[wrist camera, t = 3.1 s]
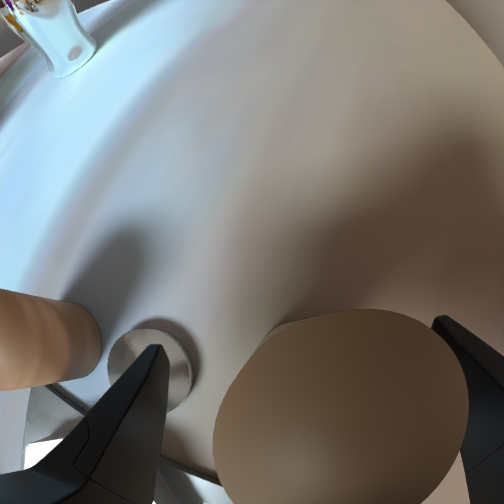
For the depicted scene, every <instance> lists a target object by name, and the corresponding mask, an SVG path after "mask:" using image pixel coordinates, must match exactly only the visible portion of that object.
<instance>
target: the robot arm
mask: <svg viewBox="0 0 504 504" xmlns="http://www.w3.org/2000/svg"><path fill="white" fill-rule="evenodd" d="M431 329H432V330H433V331H435V332H436V333H437V334H438V335H439V336H440V337H441V338H443V339H444V341H445V342H446V343H447V344H448V346H449V347H450V348H451V349H452V351H453V352H454V354H455V356H456V357H457V359H458V361H459V363H460V365H461V368H462V370H463V373H464V375H465V380H466V384H467V388H468V398H469V412H468V421H467V427H466V432H465V436H464V439H463V442H462V445H461V448H460V453H461V458H462V462H463V466H464V471H465V473H466V474H465V477H466V482H467V487H468V493H469V499H470V504H504V356H502V355H501V354H500V353H498V352H497V351H496V350H494V349H493V348H492V347H490V346H489V345H488V344H486V343H485V342H484V341H482V340H481V339H480V338H478V337H477V336H475V335H474V334H473V333H471V332H470V331H469V330H467V329H466V328H464V327H463V326H462V325H460V324H459V323H457V322H456V321H454V320H453V319H452V318H450V317H449V316H447V315H441V316H437V317H436V318H435V319H434V321H433V324H432V326H431ZM169 374H170V361H169V358H168V356H167V354H166V351H165V349H164V347H163V345H162V344H149V345H148V346H147V347H146V348H145V349H144V350H143V352H142V353H141V354H140V355H139V356H138V357H137V358H136V359H135V360H134V362H133V363H132V364H131V365H130V366H129V367H128V368H127V369H126V370H125V372H124V373H123V374H122V375H121V376H120V377H119V378H118V379H117V380H116V382H115V383H114V384H113V385H112V386H111V387H110V388H109V389H108V390H107V392H106V393H105V394H104V395H103V396H102V397H101V398H100V399H99V401H98V402H97V403H96V404H95V405H94V406H93V407H92V408H91V410H90V411H89V412H88V413H87V414H86V417H83V419H82V420H81V421H80V422H79V423H78V424H77V425H76V426H75V427H74V428H73V430H72V431H71V432H70V433H69V434H68V435H67V436H66V437H65V438H64V439H63V440H62V441H61V442H59V443H58V444H57V445H56V446H55V447H54V448H53V449H52V450H51V451H50V452H49V453H47V454H46V455H45V456H44V457H43V458H42V459H41V460H40V461H39V462H37V463H36V464H35V465H33V466H32V467H30V468H27V469H25V470H21V471H16V472H11V473H6V474H0V504H153V501H154V493H155V485H156V478H157V471H158V464H159V457H160V450H161V444H162V437H163V431H164V425H165V419H166V413H167V406H168V391H169Z"/></svg>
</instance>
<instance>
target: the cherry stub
mask: <svg viewBox="0 0 504 504" xmlns="http://www.w3.org/2000/svg"><path fill="white" fill-rule="evenodd" d="M101 347H102V343H101V335H100V331H99V328H98V325H97V323H96V321H95V319H94V318H93V316H92V315H91V313H90V312H89V311H88V310H87V309H85V308H84V307H83V306H81V305H78V304H75V303H69V302H64V301H58V300H53V299H48V298H42V297H37V296H32V295H28V294H23V293H18V292H13V291H9V290H5V289H0V391H8V390H15V389H22V388H28V387H35V386H41V385H47V384H52V383H58V382H63V381H68V380H73V379H79V378H83V377H85V376H88V375H89V374H90V373H91V372H92V371H93V370H94V369H95V368H96V366H97V364H98V362H99V359H100V355H101Z"/></svg>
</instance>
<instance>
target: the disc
mask: <svg viewBox="0 0 504 504" xmlns="http://www.w3.org/2000/svg"><path fill="white" fill-rule="evenodd" d="M149 344H162V345H163V347H164V349H165V351H166V354H167V356H168V358H169V361H170V374H169V391H168V406H167V413H168V412H170V411H171V410H173V409H175V408H176V407H177V406H178V405H180V404H181V403H182V402H183V401H184V400H185V399H186V397H187V396H188V394H189V392H190V390H191V386H192V382H193V368H192V364H191V361H190V358H189V356H188V354H187V352H186V350H185V349H184V347H183V346H182V345H181V344H180V342H178V341H177V340H176V339H175V338H174V337H172V336H171V335H169V334H167V333H166V332H163V331H160V330H156V329H136V330H132V331H129V332H127V333H125V334H124V335H122V336H121V337H120V338H119V339H118V340H117V341H116V342H115V344H114V345H113V347H112V349H111V351H110V354H109V357H108V376H109V380H110V383H111V386H112V385H113V384H114V383H115V382H116V380H117V379H118V378H119V377H120V376H121V375H122V374H123V373H124V372H125V370H126V369H127V368H128V367H129V366H130V365H131V364H132V363H133V362H134V360H135V359H136V358H137V357H138V356H139V355H140V354H141V353H142V352H143V350H144V349H145V348H146V347H147V346H148V345H149Z"/></svg>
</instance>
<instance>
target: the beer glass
mask: <svg viewBox="0 0 504 504" xmlns="http://www.w3.org/2000/svg"><path fill="white" fill-rule="evenodd" d="M0 17H1V18H2V20H3V21H4V22H5V23H6V24H7V25H8V26H9V27H10V28H11V29H12V30H13V31H14V32H15V33H16V34H17V35H19V36H20V37H21V38H22V39H23V40H25V41H26V42H27V43H28V44H30V45H31V46H32V47H33V48H34V49H35V50H36V51H37V52H38V53H39V54H40V56H41V57H42V58H43V60H44V62H45V64H46V66H47V69H48V71H49V73H50V75H51V76H52V77H53V78H62V77H65V76H67V75H69V74H71V73H73V72H75V71H76V70H78V69H79V68H80V67H82V66H83V65H84V64H85V63H86V62H87V61H88V60H89V59H90V58H91V57H92V56H93V54H94V53H95V51H96V49H97V43H96V41H95V40H94V39H93V38H92V37H91V36H90V35H89V34H88V33H87V31H86V30H85V29H84V28H83V25H81V23H80V21H79V19H78V16H77V13H76V10H75V6H74V3H73V0H0Z"/></svg>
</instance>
